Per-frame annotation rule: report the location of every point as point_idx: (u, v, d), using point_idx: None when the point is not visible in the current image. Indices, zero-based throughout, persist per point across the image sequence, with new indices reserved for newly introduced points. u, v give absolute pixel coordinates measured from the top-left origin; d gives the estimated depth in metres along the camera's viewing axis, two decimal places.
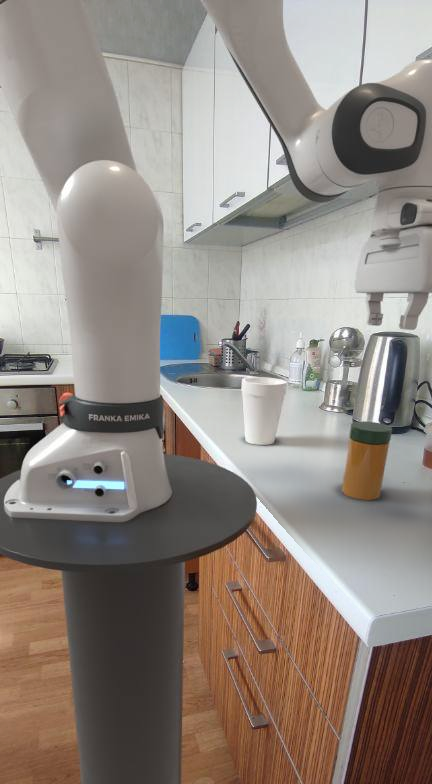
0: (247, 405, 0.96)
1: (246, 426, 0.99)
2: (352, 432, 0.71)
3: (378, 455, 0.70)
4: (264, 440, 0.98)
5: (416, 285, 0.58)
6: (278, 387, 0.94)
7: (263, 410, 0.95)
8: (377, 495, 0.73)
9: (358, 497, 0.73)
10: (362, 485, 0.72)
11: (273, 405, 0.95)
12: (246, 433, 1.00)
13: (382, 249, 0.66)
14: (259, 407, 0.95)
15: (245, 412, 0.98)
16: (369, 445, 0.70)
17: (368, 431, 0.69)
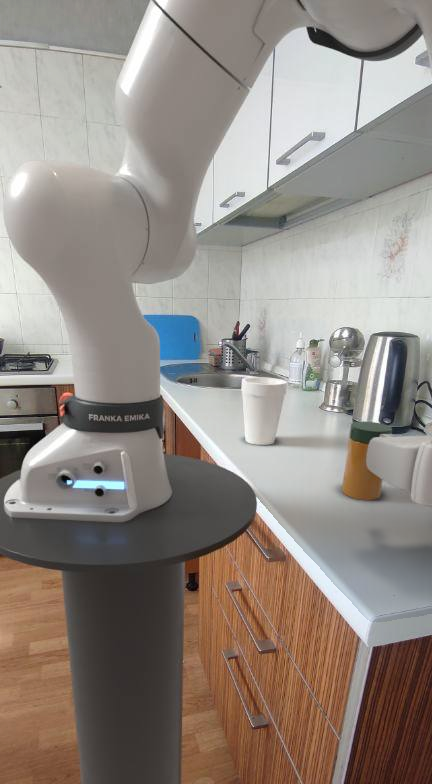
0: (247, 405, 0.96)
1: (246, 426, 0.99)
2: (352, 432, 0.71)
3: None
4: (264, 440, 0.98)
5: (385, 437, 0.53)
6: (278, 387, 0.94)
7: (263, 410, 0.95)
8: (377, 495, 0.73)
9: (358, 497, 0.73)
10: (362, 485, 0.72)
11: (273, 405, 0.95)
12: (246, 433, 1.00)
13: None
14: (259, 407, 0.95)
15: (245, 412, 0.98)
16: None
17: (368, 431, 0.69)
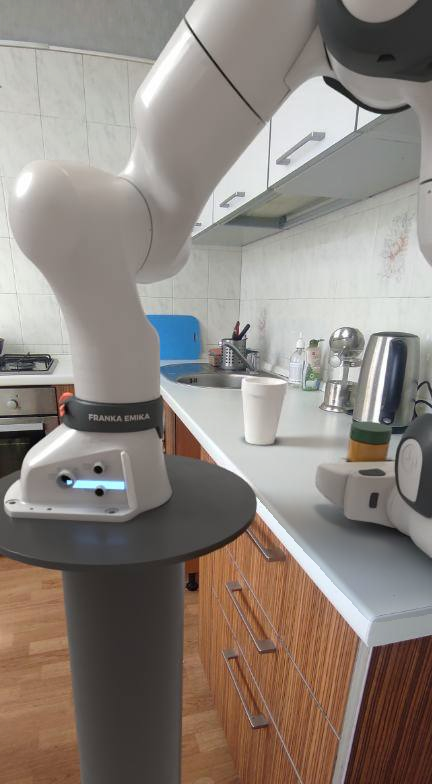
0: (247, 405, 0.96)
1: (246, 426, 0.99)
2: (352, 432, 0.71)
3: (378, 455, 0.70)
4: (264, 440, 0.98)
5: (330, 463, 0.68)
6: (278, 387, 0.94)
7: (263, 410, 0.95)
8: None
9: None
10: None
11: (273, 405, 0.95)
12: (246, 433, 1.00)
13: None
14: (259, 407, 0.95)
15: (245, 412, 0.98)
16: (369, 445, 0.70)
17: (368, 431, 0.69)
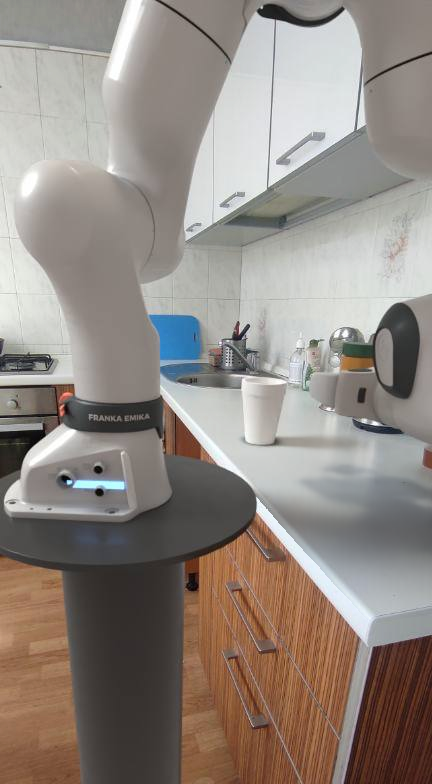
0: (247, 405, 0.96)
1: (246, 426, 0.99)
2: (344, 348, 0.77)
3: None
4: (264, 440, 0.98)
5: None
6: (278, 387, 0.94)
7: (263, 410, 0.95)
8: None
9: None
10: None
11: (273, 405, 0.95)
12: (246, 433, 1.00)
13: None
14: (259, 407, 0.95)
15: (245, 412, 0.98)
16: (359, 358, 0.76)
17: (358, 345, 0.75)
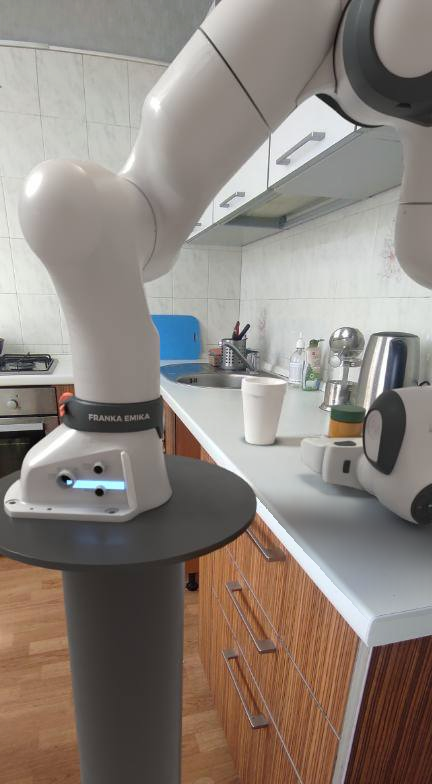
0: (247, 405, 0.96)
1: (246, 426, 0.99)
2: (332, 413, 0.84)
3: (354, 432, 0.83)
4: (264, 440, 0.98)
5: (312, 438, 0.80)
6: (278, 387, 0.94)
7: (263, 410, 0.95)
8: None
9: None
10: None
11: (273, 405, 0.95)
12: (246, 433, 1.00)
13: None
14: (259, 407, 0.95)
15: (245, 412, 0.98)
16: (346, 423, 0.82)
17: (345, 411, 0.81)
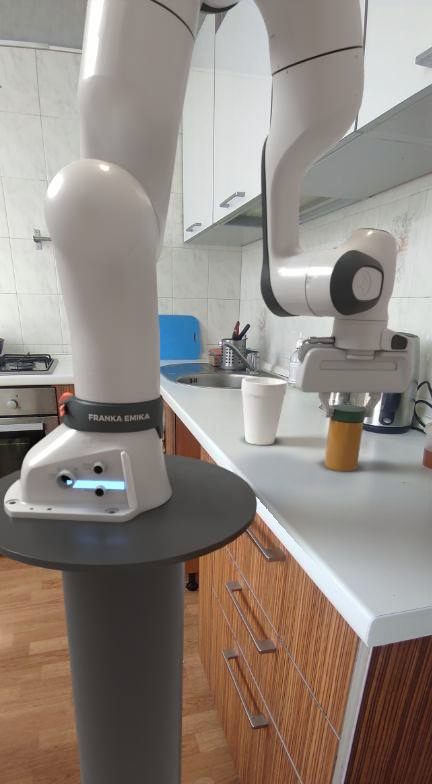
0: (247, 405, 0.96)
1: (246, 426, 0.99)
2: None
3: (354, 432, 0.83)
4: (264, 440, 0.98)
5: (397, 389, 0.82)
6: (278, 387, 0.94)
7: (263, 410, 0.95)
8: (354, 467, 0.86)
9: (337, 469, 0.85)
10: (340, 458, 0.84)
11: (273, 405, 0.95)
12: (246, 433, 1.00)
13: (347, 360, 0.79)
14: (259, 407, 0.95)
15: (245, 412, 0.98)
16: (346, 423, 0.82)
17: (345, 411, 0.81)
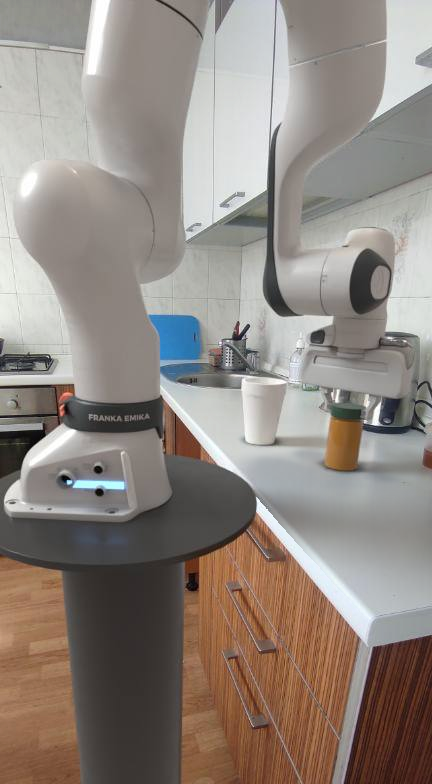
0: (247, 405, 0.96)
1: (246, 426, 0.99)
2: None
3: (354, 431, 0.83)
4: (264, 440, 0.98)
5: None
6: (278, 387, 0.94)
7: (263, 410, 0.95)
8: (354, 467, 0.86)
9: (338, 468, 0.85)
10: (341, 457, 0.84)
11: (273, 405, 0.95)
12: (246, 433, 1.00)
13: None
14: (259, 407, 0.95)
15: (245, 412, 0.98)
16: (346, 422, 0.82)
17: None
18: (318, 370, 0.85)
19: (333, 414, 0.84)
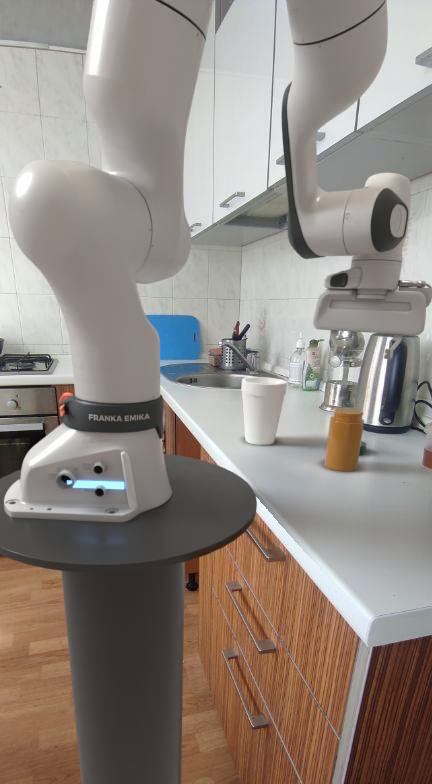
0: (247, 405, 0.96)
1: (246, 426, 0.99)
2: (365, 448, 0.96)
3: (354, 432, 0.83)
4: (264, 440, 0.98)
5: None
6: (278, 387, 0.94)
7: (263, 410, 0.95)
8: (354, 467, 0.86)
9: (338, 469, 0.85)
10: (341, 458, 0.84)
11: (273, 405, 0.95)
12: (246, 433, 1.00)
13: None
14: (259, 407, 0.95)
15: (245, 412, 0.98)
16: (346, 423, 0.82)
17: None
18: (335, 314, 0.88)
19: None
